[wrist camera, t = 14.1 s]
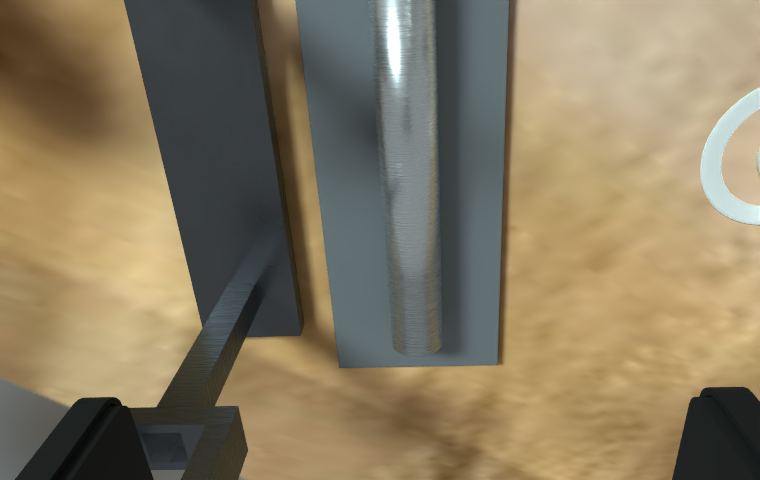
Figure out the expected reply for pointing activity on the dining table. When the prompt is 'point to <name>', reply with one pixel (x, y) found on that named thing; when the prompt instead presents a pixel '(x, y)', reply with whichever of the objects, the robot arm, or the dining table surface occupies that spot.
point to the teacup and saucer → (713, 159)
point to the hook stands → (216, 216)
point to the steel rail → (409, 168)
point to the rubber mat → (456, 176)
